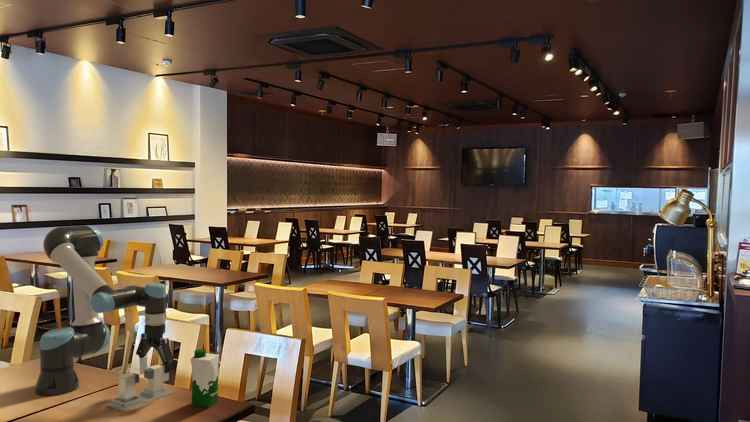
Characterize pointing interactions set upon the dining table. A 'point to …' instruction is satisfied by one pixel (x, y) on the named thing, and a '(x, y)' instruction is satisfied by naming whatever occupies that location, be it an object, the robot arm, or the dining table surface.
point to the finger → (154, 378)
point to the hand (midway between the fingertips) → (154, 377)
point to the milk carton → (204, 378)
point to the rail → (139, 399)
